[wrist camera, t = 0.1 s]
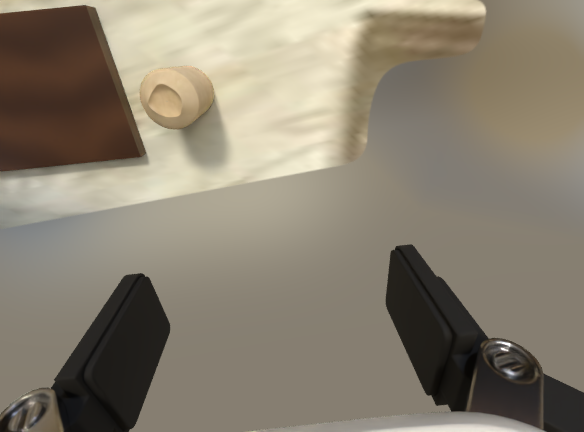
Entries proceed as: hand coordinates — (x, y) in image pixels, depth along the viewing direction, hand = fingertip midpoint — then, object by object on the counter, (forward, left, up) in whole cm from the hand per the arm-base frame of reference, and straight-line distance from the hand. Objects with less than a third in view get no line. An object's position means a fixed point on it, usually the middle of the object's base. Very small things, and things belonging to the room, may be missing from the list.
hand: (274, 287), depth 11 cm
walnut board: (-6, -28, -30) cm, 41 cm away
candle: (-5, -10, -31) cm, 32 cm away
